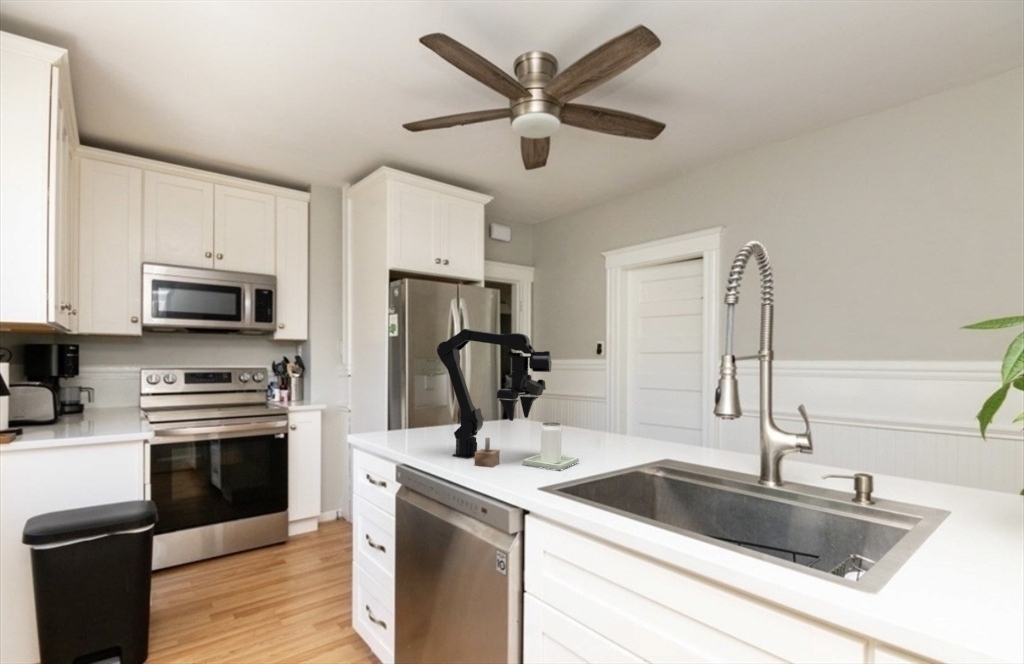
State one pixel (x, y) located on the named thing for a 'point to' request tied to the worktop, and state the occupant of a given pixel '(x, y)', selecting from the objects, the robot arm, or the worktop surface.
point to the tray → (537, 462)
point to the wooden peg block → (487, 456)
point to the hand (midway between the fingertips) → (519, 419)
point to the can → (551, 443)
